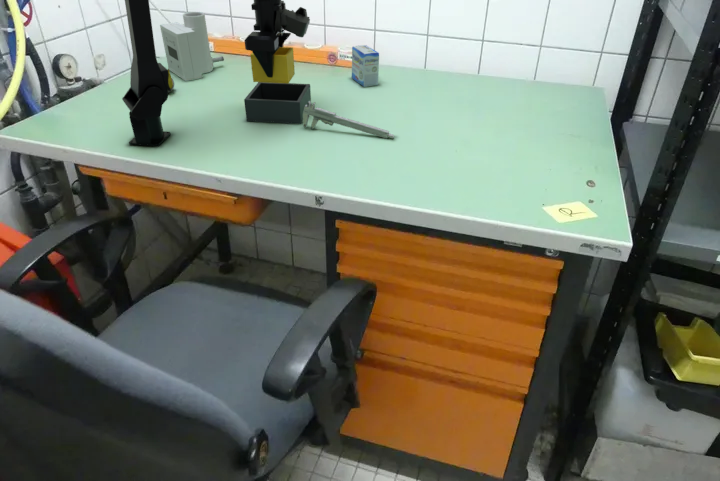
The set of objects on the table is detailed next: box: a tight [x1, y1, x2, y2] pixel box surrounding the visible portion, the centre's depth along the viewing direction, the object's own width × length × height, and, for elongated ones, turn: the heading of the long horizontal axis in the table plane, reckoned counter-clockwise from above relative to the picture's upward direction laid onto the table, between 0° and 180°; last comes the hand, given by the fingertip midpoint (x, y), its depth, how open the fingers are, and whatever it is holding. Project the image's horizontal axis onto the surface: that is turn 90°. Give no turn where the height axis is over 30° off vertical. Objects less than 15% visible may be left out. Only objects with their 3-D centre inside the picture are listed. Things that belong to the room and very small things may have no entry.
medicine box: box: [351, 44, 380, 88], centre depth 141 cm, size 8×4×9 cm, turn 25°
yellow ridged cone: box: [167, 69, 175, 94], centre depth 133 cm, size 5×5×10 cm
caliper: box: [302, 100, 395, 139], centre depth 114 cm, size 20×1×6 cm, turn 75°
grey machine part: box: [159, 11, 225, 82], centre depth 145 cm, size 12×14×15 cm
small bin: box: [250, 46, 296, 83], centre depth 118 cm, size 6×8×6 cm
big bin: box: [243, 82, 312, 125], centre depth 123 cm, size 12×13×5 cm
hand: (273, 72), depth 119 cm, fingers closed on small bin, 6 cm apart
